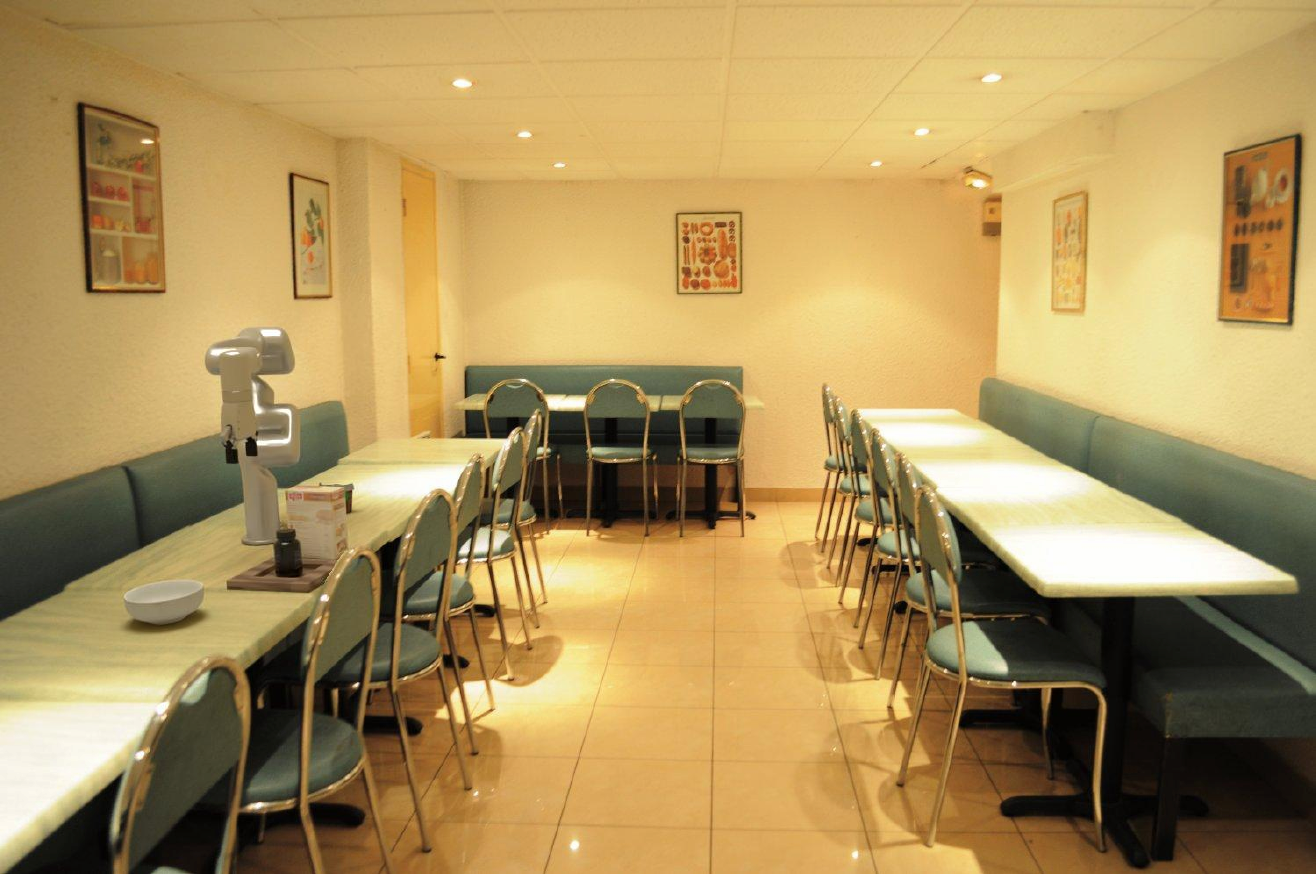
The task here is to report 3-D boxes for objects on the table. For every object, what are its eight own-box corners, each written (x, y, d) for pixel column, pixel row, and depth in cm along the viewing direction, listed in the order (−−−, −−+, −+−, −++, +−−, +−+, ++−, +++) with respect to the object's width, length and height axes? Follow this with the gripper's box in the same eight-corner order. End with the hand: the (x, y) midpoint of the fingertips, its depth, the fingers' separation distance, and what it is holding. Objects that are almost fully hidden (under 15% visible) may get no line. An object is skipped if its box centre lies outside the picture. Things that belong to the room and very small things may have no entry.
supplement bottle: (296, 569, 275) (293, 525, 273) (307, 575, 270) (304, 530, 268) (270, 574, 271) (268, 530, 269) (281, 580, 266) (278, 535, 264)
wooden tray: (272, 565, 283) (272, 557, 282) (348, 568, 279) (347, 560, 279) (227, 589, 261) (226, 580, 261) (308, 592, 258) (307, 584, 257)
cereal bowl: (150, 607, 248) (147, 579, 247) (218, 607, 247) (216, 578, 246) (111, 631, 231) (108, 601, 230) (184, 631, 231) (181, 601, 229)
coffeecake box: (349, 554, 294) (345, 486, 291) (335, 560, 287) (331, 491, 284) (303, 550, 298) (299, 484, 295) (288, 557, 291) (284, 489, 288)
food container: (312, 515, 341) (310, 485, 340) (321, 511, 347) (319, 482, 346) (347, 516, 339) (345, 486, 338) (355, 512, 345) (354, 483, 344)
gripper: (241, 392, 284) (246, 453, 287) (205, 401, 267) (211, 466, 270) (267, 392, 283) (271, 453, 286) (232, 401, 266) (238, 467, 269)
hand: (242, 459), depth 278 cm, fingers open, 9 cm apart
